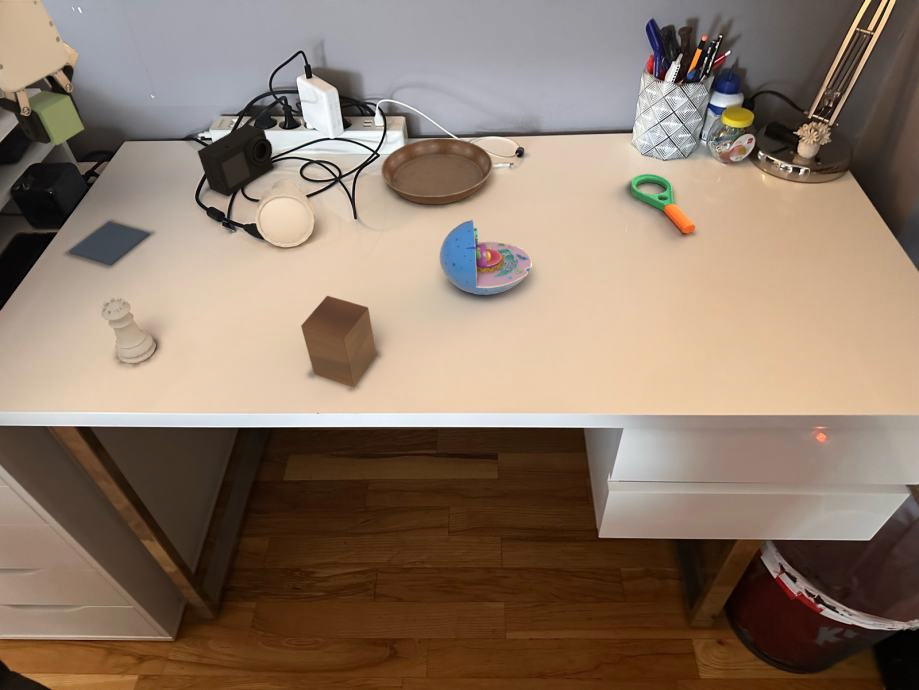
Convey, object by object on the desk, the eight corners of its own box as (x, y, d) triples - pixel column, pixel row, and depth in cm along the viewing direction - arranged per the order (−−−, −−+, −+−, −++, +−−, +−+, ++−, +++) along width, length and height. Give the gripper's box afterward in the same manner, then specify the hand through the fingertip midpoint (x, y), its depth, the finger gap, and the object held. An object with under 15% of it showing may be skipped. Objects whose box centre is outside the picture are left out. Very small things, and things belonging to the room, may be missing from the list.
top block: (57, 145, 85) (40, 111, 81) (31, 139, 86) (14, 105, 83) (84, 129, 87) (69, 95, 84) (59, 123, 89) (43, 90, 86)
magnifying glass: (623, 183, 107) (624, 174, 105) (658, 177, 108) (660, 168, 106) (668, 238, 96) (670, 228, 95) (706, 231, 97) (709, 221, 96)
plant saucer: (361, 194, 107) (358, 177, 104) (420, 144, 117) (418, 128, 115) (458, 224, 100) (457, 207, 98) (511, 168, 111) (511, 151, 109)
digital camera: (232, 199, 107) (220, 159, 102) (209, 189, 109) (196, 150, 104) (279, 169, 113) (269, 131, 108) (256, 161, 115) (246, 122, 110)
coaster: (111, 266, 95) (110, 263, 95) (69, 253, 98) (68, 251, 98) (150, 234, 101) (149, 232, 100) (109, 223, 103) (108, 221, 103)
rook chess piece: (111, 358, 82) (83, 310, 77) (139, 335, 85) (114, 287, 80) (137, 370, 81) (111, 322, 75) (164, 346, 84) (141, 298, 78)
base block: (354, 387, 78) (343, 339, 72) (313, 374, 80) (300, 325, 74) (376, 356, 81) (368, 307, 76) (337, 343, 83) (327, 295, 77)
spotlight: (256, 248, 95) (253, 193, 91) (260, 217, 104) (258, 166, 100) (314, 249, 97) (314, 196, 93) (313, 219, 106) (313, 169, 102)
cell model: (534, 307, 87) (538, 247, 80) (442, 312, 87) (438, 252, 80) (526, 259, 94) (529, 201, 87) (440, 263, 94) (437, 205, 87)
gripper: (19, -49, 80) (85, 98, 93) (-115, -2, 69) (-20, 158, 82) (66, -43, 78) (126, 107, 91) (-66, 7, 67) (24, 169, 80)
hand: (56, 130), depth 86 cm, fingers closed on top block, 4 cm apart
